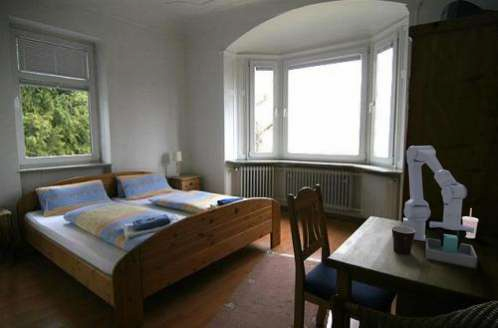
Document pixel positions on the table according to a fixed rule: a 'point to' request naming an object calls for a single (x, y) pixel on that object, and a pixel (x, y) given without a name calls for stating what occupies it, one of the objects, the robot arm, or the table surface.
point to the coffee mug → (402, 239)
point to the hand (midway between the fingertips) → (449, 246)
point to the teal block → (450, 243)
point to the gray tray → (451, 254)
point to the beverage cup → (470, 224)
